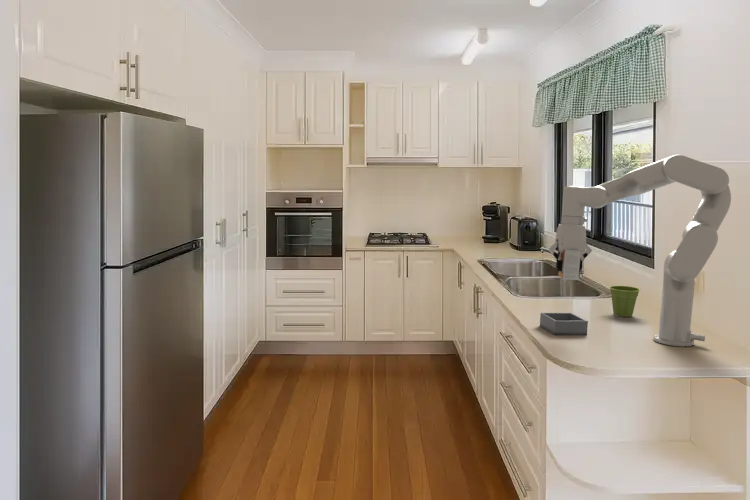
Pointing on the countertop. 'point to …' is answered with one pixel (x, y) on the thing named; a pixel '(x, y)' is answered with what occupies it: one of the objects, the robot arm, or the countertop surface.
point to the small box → (570, 265)
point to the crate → (563, 323)
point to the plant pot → (623, 300)
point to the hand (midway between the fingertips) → (568, 270)
